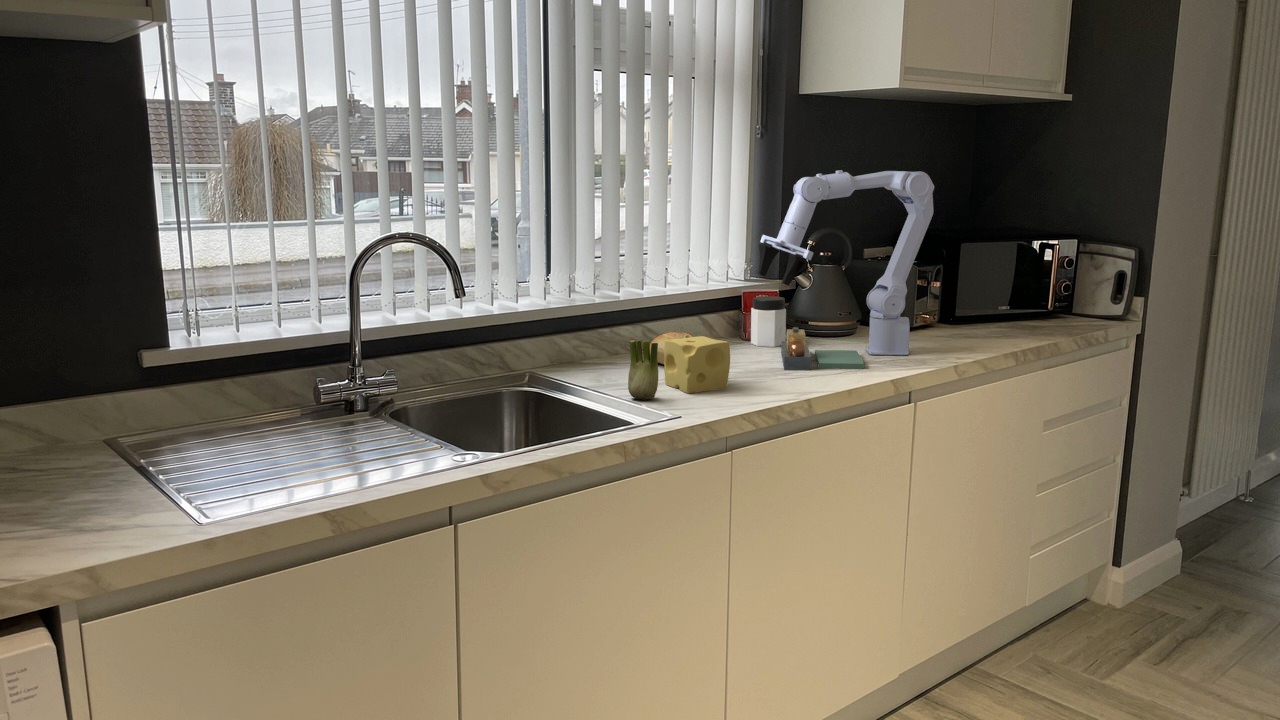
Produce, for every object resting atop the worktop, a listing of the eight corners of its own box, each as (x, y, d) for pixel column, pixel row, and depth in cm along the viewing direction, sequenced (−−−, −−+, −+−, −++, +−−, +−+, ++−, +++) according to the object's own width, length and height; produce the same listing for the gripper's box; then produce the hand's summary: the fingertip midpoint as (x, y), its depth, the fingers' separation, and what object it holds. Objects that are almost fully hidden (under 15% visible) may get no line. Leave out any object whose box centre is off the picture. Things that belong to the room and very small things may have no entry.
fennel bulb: (661, 399, 194) (661, 340, 192) (643, 403, 191) (642, 343, 189) (642, 394, 199) (641, 336, 196) (623, 398, 195) (623, 339, 193)
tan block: (786, 345, 233) (786, 326, 232) (803, 346, 233) (803, 327, 232) (787, 351, 227) (788, 331, 226) (805, 351, 226) (805, 332, 225)
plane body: (781, 353, 240) (781, 329, 239) (805, 353, 240) (806, 329, 239) (784, 369, 221) (784, 343, 220) (810, 370, 220) (811, 343, 219)
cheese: (687, 394, 198) (687, 346, 196) (662, 384, 208) (661, 338, 206) (730, 388, 203) (731, 341, 201) (703, 379, 212) (703, 334, 211)
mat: (856, 355, 236) (856, 350, 236) (863, 368, 221) (864, 363, 221) (814, 354, 238) (814, 350, 237) (819, 368, 222) (819, 363, 222)
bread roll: (668, 359, 235) (668, 326, 234) (712, 368, 224) (712, 334, 222) (638, 364, 229) (637, 331, 227) (681, 374, 218) (681, 339, 216)
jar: (769, 348, 246) (770, 301, 244) (744, 344, 252) (745, 298, 250) (791, 343, 252) (792, 297, 250) (766, 340, 258) (767, 295, 256)
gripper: (762, 213, 232) (741, 267, 233) (809, 229, 222) (786, 285, 224) (779, 221, 237) (758, 274, 239) (825, 237, 227) (803, 291, 229)
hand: (773, 279), depth 231 cm, fingers open, 7 cm apart
